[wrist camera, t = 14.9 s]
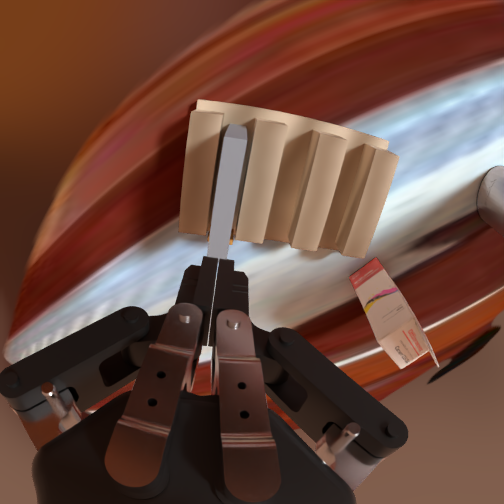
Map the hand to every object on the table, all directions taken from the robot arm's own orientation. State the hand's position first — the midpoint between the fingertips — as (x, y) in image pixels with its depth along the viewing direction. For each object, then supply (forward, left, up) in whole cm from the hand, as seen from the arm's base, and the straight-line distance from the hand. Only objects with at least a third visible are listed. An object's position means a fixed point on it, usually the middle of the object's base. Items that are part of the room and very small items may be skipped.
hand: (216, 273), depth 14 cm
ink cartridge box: (-22, +12, -19) cm, 31 cm away
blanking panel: (0, 0, -18) cm, 18 cm away
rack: (-6, 0, -19) cm, 19 cm away
